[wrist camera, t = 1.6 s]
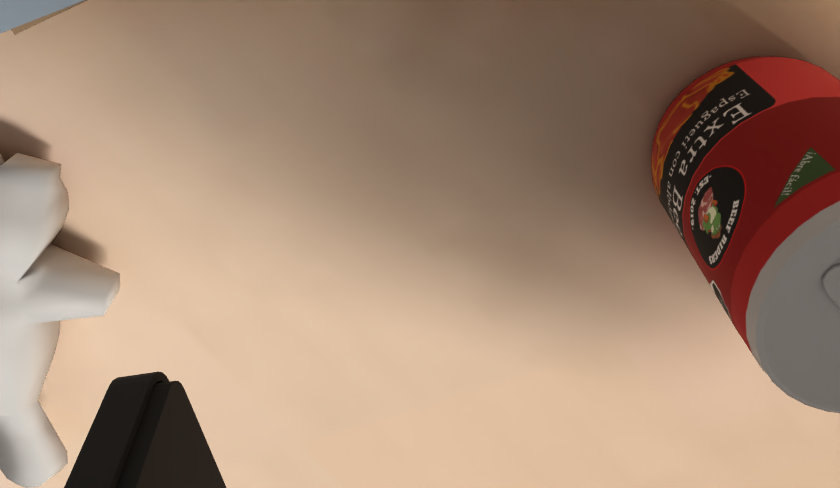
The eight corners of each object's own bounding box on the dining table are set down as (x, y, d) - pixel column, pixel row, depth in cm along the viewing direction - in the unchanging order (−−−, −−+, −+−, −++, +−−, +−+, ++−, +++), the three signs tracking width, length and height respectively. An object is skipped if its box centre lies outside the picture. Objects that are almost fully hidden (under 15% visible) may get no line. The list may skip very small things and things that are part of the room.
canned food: (685, 30, 28) (830, 165, 19) (886, 69, 29) (1121, 216, 20) (617, 213, 32) (709, 399, 23) (796, 241, 33) (956, 432, 23)
